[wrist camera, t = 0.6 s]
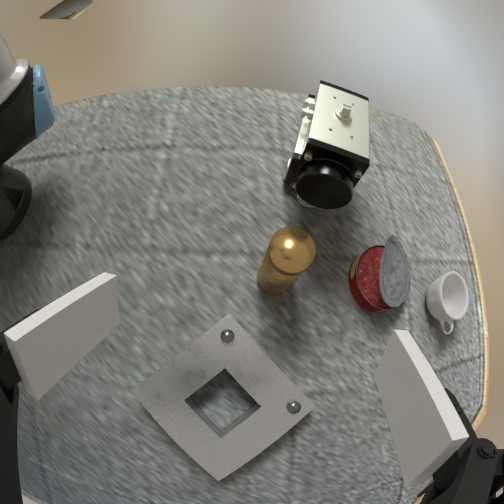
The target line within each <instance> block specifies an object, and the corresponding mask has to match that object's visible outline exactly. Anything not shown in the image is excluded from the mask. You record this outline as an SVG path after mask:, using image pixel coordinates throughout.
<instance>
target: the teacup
mask: <svg viewBox="0 0 504 504" xmlns="http://www.w3.org/2000/svg"><path fill="white" fill-rule="evenodd" d="M468 303H469V294H468V289H467V286H466V283H465V281H464V279H463V278H462V277H461V275H460V274H458V273H457V272H454V271H451V272H448V273H446V274H444V275H442V276H441V277H439V278H437V279H436V280H435V281H434V282H433V283H432V284H431V285H430V287H429V289H428V291H427V295H426V304H427V308H428V310H429V312H430V314H431V315H432V316H433V317H434V318H436V319H438V320H439V322H440V325H441V328H442V331H443V333H444V334H446V335H448V334H450V333H451V332H452V331H453V327H454V323H453V321H454V320H456V319H460V318H462V317H463V316H464V315H465V313H466V311H467V308H468ZM445 321H446V322H447V323H448V324H449V325H450V330H449V332H446V331H445V326H444V324H445Z"/></svg>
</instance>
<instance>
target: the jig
mask: <svg viewBox="0 0 504 504" xmlns="http://www.w3.org/2000/svg"><path fill="white" fill-rule="evenodd" d="M223 369H226V370H227V371H228V372H229V373H230V374H231V375H232V376H233V377H234V379H235V380H236V381H237V382H238V383H239V384H240V385H241V386H242V387H243V388H244V389H245V390H246V391H247V392H248V393H249V394H250V396H251V397H252V398H253V399H254V400H255V401H256V402H257V403H256V404H254V405H253V406H252V407H251V408H250V409H248V410H247V411H246V412H245V413H243V414H242V415H241V416H239V417H238V418H237V419H236V420H234V421H233V422H232V423H230V424H229V425H228V426H226V427H225V428H224V429H222V430H220V429H219V428H218V427H217V426H216V425H215V424H214V423H213V422H212V421H211V420H210V419H209V418H208V417H207V416H206V415H205V413H204V412H203V411H202V410H201V409H200V408H199V407H198V406H197V405H196V404H195V403H194V402H193V401H192V399H191V398H190V397H189V396H190V395H192V394H193V393H194V392H196V391H197V390H198V389H199V388H201V387H202V386H203V385H205V384H206V383H207V382H208V381H210V380H211V379H212V378H213V377H215V376H216V375H217V374H218V373H220V372H221V371H222V370H223ZM131 391H132V393H133V394H134V395H135V396H136V398H137V399H138V400H139V401H140V403H141V404H142V405H143V406H144V407H145V409H146V410H147V411H148V412H149V413H150V415H151V416H152V417H153V418H154V419H155V420H156V421H157V423H158V424H159V425H160V426H161V427H162V428H163V429H164V430H165V431H166V432H167V433H168V435H169V436H170V437H171V438H172V439H173V440H174V441H175V442H176V443H177V444H178V445H179V446H180V447H181V448H182V449H183V450H184V451H185V452H186V453H187V454H188V455H189V456H190V457H191V458H192V459H194V460H195V461H196V462H197V463H198V464H199V465H200V466H201V467H202V468H203V469H205V470H206V471H207V472H208V473H209V474H210V475H211V476H213V477H214V478H215V479H216V480H217V481H220V480H221V479H223V478H225V477H226V476H228V475H229V474H231V473H232V472H234V471H235V470H237V469H238V468H240V467H241V466H242V465H244V464H245V463H247V462H248V461H250V460H251V459H252V458H254V457H255V456H256V455H258V454H259V453H261V452H262V451H263V450H264V449H266V448H267V447H268V446H270V445H271V444H272V443H273V442H275V441H276V440H277V439H278V438H280V437H281V436H282V435H283V434H285V433H286V432H287V431H288V430H289V429H291V428H292V427H293V426H294V425H295V424H296V423H298V422H299V421H300V420H301V419H302V418H303V417H304V416H305V415H307V414H308V413H309V412H310V411H311V410H312V409H313V408H314V407H315V405H314V404H313V403H312V402H311V401H310V400H309V399H308V398H307V397H306V396H305V395H304V394H303V393H302V392H301V391H300V390H299V389H298V388H297V387H296V386H295V385H294V384H293V383H292V381H291V380H290V379H289V378H288V377H287V376H286V375H285V374H284V373H283V372H282V371H281V370H280V369H279V368H278V367H277V366H276V365H275V363H274V362H273V361H272V360H271V359H270V358H269V357H268V356H267V355H266V354H265V353H264V352H263V350H262V349H261V348H260V347H259V346H258V345H257V344H256V343H255V342H254V341H253V339H252V338H251V337H250V336H249V335H248V334H247V333H246V332H245V330H244V329H243V328H242V327H241V326H240V325H239V324H238V322H237V321H236V320H235V319H234V318H233V317H232V316H231V314H230V313H229V314H227V315H226V316H225V317H224V318H222V319H221V320H220V321H219V322H218V323H216V324H215V325H214V326H213V327H211V328H210V329H209V330H208V331H207V332H205V333H204V334H203V335H202V336H200V337H199V338H198V339H197V340H195V341H194V342H193V343H192V344H190V345H189V346H188V347H187V348H185V349H184V350H183V351H182V352H180V353H179V354H178V355H177V356H175V357H174V358H173V359H172V360H170V361H169V362H168V363H166V364H165V365H164V366H163V367H161V368H160V369H159V370H157V371H156V372H155V373H154V374H152V375H151V376H150V377H148V378H147V379H146V380H144V381H143V382H142V383H141V384H139V385H138V386H137V387H135V388H134V389H133V390H131Z"/></svg>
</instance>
